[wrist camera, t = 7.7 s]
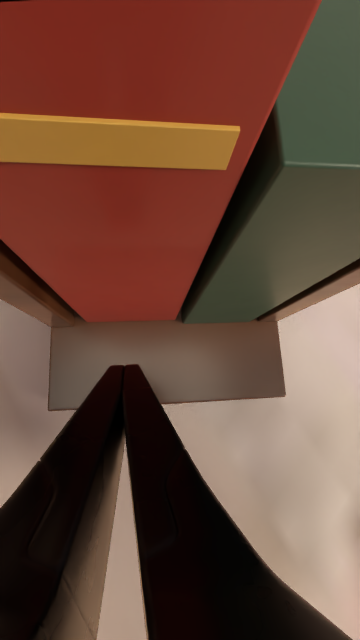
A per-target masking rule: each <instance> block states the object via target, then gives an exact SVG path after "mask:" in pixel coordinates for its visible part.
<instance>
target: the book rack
mask: <svg viewBox="0 0 360 640" xmlns="http://www.w3.org/2000/svg"><path fill="white" fill-rule="evenodd" d="M359 283H360V258H359V259H357V260H356V261H354V262H352V263H350V264H349V265H347V266H345V267H344V268H342V269H340V270H338V271H337V272H335V273H333V274H331V275H330V276H328V277H326V278H324V279H323V280H321V281H319V282H318V283H316V284H314V285H312V286H311V287H309V288H307V289H305V290H304V291H302V292H300V293H298V294H297V295H295V296H293V297H291V298H290V299H288V300H286V301H285V302H283V303H281V304H279V305H278V306H276V307H274V308H272V309H271V310H269V311H267V312H265V313H264V314H262V315H260V316H258V317H257V318H255V319H253V320H252V321H250V322H231V323H195V324H183V320H182V306H181V308H180V311H179V313H178V315H177V317H176V319H175V320H153V321H116V322H86V321H85V320H84V319H83V318H82V317H81V316H80V315H79V314H78V313H77V312H76V311H75V310H74V309H73V308H72V307H71V306H70V305H68V304H67V303H66V302H65V301H64V300H63V299H62V298H61V297H60V296H59V295H58V294H57V293H56V292H55V291H54V290H53V289H52V288H51V287H50V286H49V285H48V284H47V283H46V282H45V281H44V280H42V279H41V278H40V277H39V276H38V275H37V274H36V273H35V272H34V271H33V270H32V269H31V268H30V267H29V266H28V265H27V264H26V263H25V262H24V261H23V260H22V259H21V258H20V257H19V256H18V255H16V254H15V253H14V252H13V251H12V250H11V249H10V248H9V247H8V246H7V245H6V244H5V243H4V242H3V241H2V240H1V239H0V299H2V300H3V301H5V302H7V303H9V304H11V305H12V306H14V307H16V308H18V309H20V310H21V311H23V312H25V313H27V314H29V315H30V316H32V317H34V318H36V319H38V320H39V321H41V322H43V323H45V324H47V325H48V326H50V327H51V346H50V370H49V394H48V411H60V410H77V409H78V408H79V406H80V405H81V404H82V402H83V401H84V400H85V398H86V397H87V396H88V394H89V393H90V392H91V390H92V389H93V388H94V386H95V385H96V384H97V382H98V381H99V380H100V378H101V377H102V376H103V374H104V373H105V372H106V370H107V369H108V368H109V366H111V365H124V367H125V365H128V364H138V365H139V366H140V368H141V369H142V371H143V373H144V375H145V377H146V378H147V380H148V382H149V384H150V386H151V387H152V389H153V391H154V393H155V395H156V396H157V398H158V400H159V402H160V404H175V403H192V402H208V401H225V400H241V399H258V398H274V397H285V396H286V392H285V384H284V376H283V367H282V359H281V351H280V342H279V334H278V326H277V321H279V320H281V319H283V318H285V317H287V316H289V315H292V314H294V313H296V312H298V311H300V310H303V309H305V308H307V307H309V306H311V305H314V304H316V303H318V302H320V301H322V300H324V299H327V298H329V297H331V296H333V295H335V294H338V293H340V292H342V291H344V290H346V289H349V288H351V287H353V286H355V285H357V284H359Z"/></svg>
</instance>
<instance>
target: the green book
mask: <svg viewBox="0 0 360 640" xmlns="http://www.w3.org/2000/svg"><path fill="white" fill-rule="evenodd" d="M359 258H360V0H322V1H321V4H320V6H319V8H318V10H317V12H316V14H315V17H314V19H313V21H312V23H311V25H310V27H309V30H308V32H307V34H306V36H305V38H304V41H303V43H302V45H301V47H300V49H299V51H298V54H297V56H296V58H295V60H294V62H293V64H292V67H291V69H290V71H289V73H288V75H287V78H286V80H285V82H284V84H283V86H282V88H281V91H280V93H279V95H278V97H277V99H276V102H275V104H274V106H273V108H272V110H271V112H270V115H269V117H268V119H267V121H266V123H265V125H264V128H263V130H262V132H261V134H260V136H259V139H258V141H257V143H256V145H255V147H254V149H253V152H252V154H251V156H250V158H249V160H248V163H247V165H246V167H245V169H244V171H243V173H242V176H241V178H240V180H239V182H238V184H237V186H236V189H235V191H234V193H233V195H232V197H231V200H230V202H229V204H228V206H227V208H226V210H225V213H224V215H223V217H222V219H221V221H220V224H219V226H218V228H217V230H216V232H215V234H214V237H213V239H212V241H211V243H210V245H209V247H208V250H207V252H206V254H205V256H204V258H203V261H202V263H201V265H200V267H199V269H198V271H197V274H196V276H195V278H194V280H193V282H192V285H191V287H190V289H189V291H188V293H187V295H186V298H185V300H184V302H183V304H182V320H183V324H195V323H231V322H250V321H252V320H253V319H255V318H257V317H258V316H260V315H262V314H264V313H265V312H267V311H269V310H271V309H272V308H274V307H276V306H278V305H279V304H281V303H283V302H285V301H286V300H288V299H290V298H291V297H293V296H295V295H297V294H298V293H300V292H302V291H304V290H305V289H307V288H309V287H311V286H312V285H314V284H316V283H318V282H319V281H321V280H323V279H324V278H326V277H328V276H330V275H331V274H333V273H335V272H337V271H338V270H340V269H342V268H344V267H345V266H347V265H349V264H350V263H352V262H354V261H356V260H357V259H359Z"/></svg>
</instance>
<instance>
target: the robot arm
mask: <svg viewBox="0 0 360 640" xmlns="http://www.w3.org/2000/svg"><path fill="white" fill-rule="evenodd" d="M125 438H126V448H127V458H128V467H129V477H130V486H131V496H132V505H133V515H134V524H135V534H136V543H137V553H138V562H139V572H140V581H141V590H142V600H143V609H144V619H145V628H146V638H147V640H352V639H351V638H350V637H349V636H348V635H346V634H345V633H344V632H343V631H342V630H340V629H339V628H338V627H337V626H336V625H334V624H333V623H332V622H331V621H330V620H328V619H327V618H326V617H325V616H323V615H322V614H321V613H320V612H319V611H317V610H316V609H315V608H314V607H313V606H311V605H310V604H309V603H308V602H307V601H305V600H304V599H303V598H302V597H301V596H299V595H298V594H297V593H296V592H295V591H293V590H292V589H291V588H290V587H289V586H287V585H286V584H285V583H284V582H283V581H282V580H281V579H280V578H279V577H278V576H277V575H276V574H275V573H274V572H273V571H272V570H271V569H270V568H269V567H268V566H267V564H266V563H265V562H264V561H263V560H262V558H261V557H260V556H259V555H258V553H257V552H256V551H255V550H254V548H253V547H252V546H251V544H250V543H249V541H248V540H247V539H246V537H245V536H244V535H243V533H242V532H241V531H240V529H239V528H238V527H237V525H236V524H235V522H234V521H233V520H232V518H231V517H230V516H229V514H228V513H227V512H226V510H225V509H224V507H223V506H222V505H221V503H220V502H219V501H218V499H217V498H216V496H215V495H214V494H213V492H212V491H211V489H210V488H209V486H208V485H207V483H206V482H205V481H204V479H203V477H202V476H201V474H200V472H199V471H198V469H197V468H196V466H195V464H194V463H193V461H192V459H191V457H190V455H189V454H188V452H187V450H186V449H185V447H184V445H183V443H182V441H181V440H180V438H179V436H178V434H177V432H176V431H175V429H174V427H173V425H172V423H171V422H170V420H169V418H168V416H167V414H166V413H165V411H164V409H163V407H162V405H161V404H160V402H159V400H158V398H157V396H156V395H155V393H154V391H153V389H152V387H151V386H150V384H149V382H148V380H147V378H146V377H145V375H144V373H143V371H142V369H141V368H140V366H139V365H138V364H128V365H125V367H124V365H111V366H109V368H108V369H107V370H106V372H105V373H104V374H103V376H102V377H101V378H100V380H99V381H98V382H97V384H96V385H95V386H94V388H93V389H92V390H91V392H90V393H89V394H88V396H87V397H86V398H85V400H84V401H83V402H82V404H81V405H80V406H79V408H78V409H77V410H76V412H75V413H74V414H73V416H72V417H71V418H70V420H69V421H68V422H67V424H66V425H65V426H64V428H63V429H62V430H61V432H60V433H59V434H58V436H57V437H56V438H55V440H54V441H53V442H52V444H51V445H50V446H49V448H48V449H47V450H46V451H45V453H44V454H43V455H42V457H41V458H40V460H41V461H38V462H37V463H36V465H35V466H34V467H33V469H32V470H31V471H30V473H29V474H28V475H27V476H26V478H25V479H24V480H23V482H22V483H21V484H20V485H19V487H18V488H17V489H16V490H15V492H14V493H13V494H12V495H11V497H10V498H9V499H8V500H7V501H6V502H5V504H4V505H3V506H2V507H1V508H0V640H96V638H97V631H98V625H99V618H100V611H101V604H102V597H103V590H104V583H105V576H106V569H107V562H108V555H109V548H110V542H111V535H112V528H113V521H114V514H115V507H116V500H117V493H118V486H119V479H120V472H121V465H122V459H123V452H124V444H125Z"/></svg>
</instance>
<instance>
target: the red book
mask: <svg viewBox="0 0 360 640" xmlns="http://www.w3.org/2000/svg"><path fill="white" fill-rule="evenodd" d="M321 1H322V0H0V239H1V240H2V241H3V242H4V243H5V244H6V245H7V246H8V247H9V248H10V249H11V250H12V251H13V252H14V253H15V254H16V255H18V256H19V257H20V258H21V259H22V260H23V261H24V262H25V263H26V264H27V265H28V266H29V267H30V268H31V269H32V270H33V271H34V272H35V273H36V274H37V275H38V276H39V277H40V278H41V279H42V280H44V281H45V282H46V283H47V284H48V285H49V286H50V287H51V288H52V289H53V290H54V291H55V292H56V293H57V294H58V295H59V296H60V297H61V298H62V299H63V300H64V301H65V302H66V303H67V304H68V305H70V306H71V307H72V308H73V309H74V310H75V311H76V312H77V313H78V314H79V315H80V316H81V317H82V318H83V319H84V320H85V321H86V322H116V321H153V320H175V319H176V317H177V315H178V313H179V311H180V308H181V306H182V304H183V302H184V300H185V298H186V295H187V293H188V291H189V289H190V287H191V285H192V282H193V280H194V278H195V276H196V274H197V271H198V269H199V267H200V265H201V263H202V261H203V258H204V256H205V254H206V252H207V250H208V247H209V245H210V243H211V241H212V239H213V237H214V234H215V232H216V230H217V228H218V226H219V224H220V221H221V219H222V217H223V215H224V213H225V210H226V208H227V206H228V204H229V202H230V200H231V197H232V195H233V193H234V191H235V189H236V186H237V184H238V182H239V180H240V178H241V176H242V173H243V171H244V169H245V167H246V165H247V163H248V160H249V158H250V156H251V154H252V152H253V149H254V147H255V145H256V143H257V141H258V139H259V136H260V134H261V132H262V130H263V128H264V125H265V123H266V121H267V119H268V117H269V115H270V112H271V110H272V108H273V106H274V104H275V102H276V99H277V97H278V95H279V93H280V91H281V88H282V86H283V84H284V82H285V80H286V78H287V75H288V73H289V71H290V69H291V67H292V64H293V62H294V60H295V58H296V56H297V54H298V51H299V49H300V47H301V45H302V43H303V41H304V38H305V36H306V34H307V32H308V30H309V27H310V25H311V23H312V21H313V19H314V17H315V14H316V12H317V10H318V8H319V6H320V4H321Z"/></svg>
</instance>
